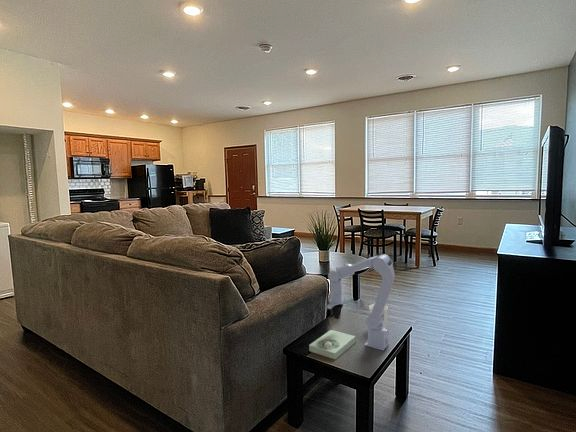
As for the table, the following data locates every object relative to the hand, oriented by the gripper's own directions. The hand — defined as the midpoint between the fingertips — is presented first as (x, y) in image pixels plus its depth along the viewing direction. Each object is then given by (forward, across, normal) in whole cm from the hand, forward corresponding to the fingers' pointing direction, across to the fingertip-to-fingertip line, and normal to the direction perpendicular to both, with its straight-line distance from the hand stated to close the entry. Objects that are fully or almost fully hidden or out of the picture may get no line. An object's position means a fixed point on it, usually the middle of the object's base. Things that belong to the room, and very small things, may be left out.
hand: (336, 318), depth 174 cm
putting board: (+9, +11, +4) cm, 15 cm away
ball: (+7, +15, +4) cm, 17 cm away
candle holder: (+10, -20, +14) cm, 26 cm away
